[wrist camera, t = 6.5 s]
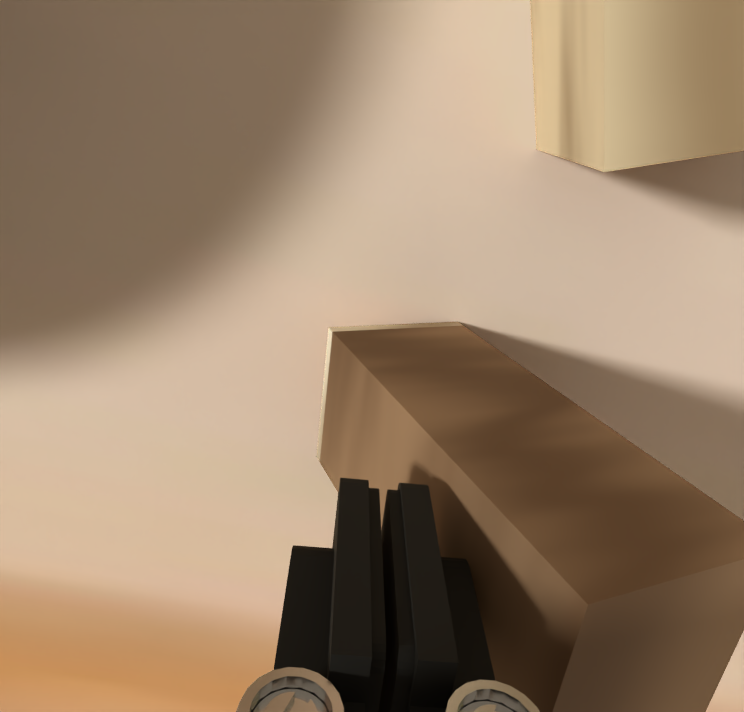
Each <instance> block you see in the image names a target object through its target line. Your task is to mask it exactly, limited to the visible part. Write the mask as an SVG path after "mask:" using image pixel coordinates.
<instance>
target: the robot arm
mask: <svg viewBox="0 0 744 712" xmlns="http://www.w3.org/2000/svg"><path fill="white" fill-rule="evenodd" d="M236 712H540V711H539V710H538V708H537V706H536V705H535V704H534V703H533V702H532V701H531V700H530V699H529V698H527V697H526V696H525V695H524V694H523V693H521V692H520V691H518V690H516V689H515V688H513V687H512V686H509V685H507V684H504V683H501V682H498V681H496V680H495V676H494V672H493V667H492V663H491V658H490V654H489V650H488V645H487V641H486V636H485V632H484V628H483V623H482V619H481V615H480V610H479V606H478V601H477V597H476V593H475V588H474V584H473V579H472V575H471V571H470V567H469V564H468V561H467V560H466V559H462V558H449V557H441V555H440V549H439V544H438V538H437V532H436V526H435V520H434V514H433V508H432V502H431V497H430V491H429V486H428V485H423V484H411V483H399V485H398V489H397V490H390V489H388V490H387V494H386V501H385V508H384V515H383V522H382V529H381V514H380V492H379V489H378V488H369V480H363V479H351V478H340V483H339V492H338V501H337V511H336V520H335V529H334V539H333V548H319V547H306V546H293V547H292V553H291V559H290V566H289V573H288V579H287V586H286V592H285V599H284V606H283V612H282V619H281V625H280V632H279V639H278V645H277V652H276V658H275V665H274V670H272V671H271V672H269V673H267V674H265V675H263V676H261V677H259V678H258V679H257V680H256V681H255V682H254V683H253V684H251V685H250V686H249V687H248V688H247V690H246V692H245V694H244V695H243V697H242V699H241V701H240V703H239V705H238V708H237V711H236Z"/></svg>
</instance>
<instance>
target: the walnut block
mask: <svg viewBox="0 0 744 712" xmlns="http://www.w3.org/2000/svg"><path fill="white" fill-rule="evenodd" d="M316 457H317V458H318V460H319V462H320V463H321V465H322V467H323V468H324V470H325V471H326V473H327V475H328V476H329V478H330V480H331V481H332V483H333V485H334V486H335V488H336V490H337V491H338V492H339V483H340V478H351V479H363V480H369V488H378V489H379V492H380V514H381V529H382V522H383V515H384V508H385V501H386V494H387V490H388V489H390V490H397V489H398V485H399V483H411V484H423V485H428V486H429V491H430V497H431V502H432V508H433V514H434V520H435V526H436V532H437V538H438V544H439V549H440V555H441V557H449V558H462V559H466V560H467V561H468V564H469V567H470V571H471V575H472V579H473V584H474V588H475V593H476V597H477V601H478V606H479V610H480V615H481V619H482V623H483V628H484V632H485V636H486V641H487V645H488V650H489V654H490V658H491V663H492V667H493V672H494V676H495V680H496V681H498V682H501V683H504V684H507V685H509V686H512V687H513V688H515V689H516V690H518V691H520V692H521V693H523V694H524V695H525V696H526V697H527V698H529V699H530V700H531V701H532V702H533V703H534V704H535V705H536V706H537V708H538V710H539V711H540V712H705V711H706V709H707V707H708V705H709V703H710V701H711V699H712V696H713V694H714V692H715V690H716V688H717V686H718V684H719V682H720V679H721V677H722V675H723V673H724V671H725V669H726V667H727V665H728V662H729V660H730V658H731V656H732V654H733V652H734V650H735V648H736V645H737V643H738V641H739V639H740V637H741V635H742V633H743V631H744V521H743V520H742V519H740V518H739V517H737V516H736V515H735V514H733V513H732V512H730V511H729V510H727V509H726V508H725V507H723V506H722V505H720V504H719V503H717V502H716V501H714V500H713V499H712V498H710V497H709V496H707V495H706V494H704V493H703V492H702V491H700V490H699V489H697V488H696V487H694V486H693V485H691V484H690V483H689V482H687V481H686V480H684V479H683V478H681V477H680V476H679V475H677V474H676V473H674V472H673V471H671V470H670V469H669V468H667V467H666V466H664V465H663V464H661V463H660V462H658V461H657V460H656V459H654V458H653V457H651V456H650V455H648V454H647V453H646V452H644V451H643V450H641V449H640V448H638V447H637V446H635V445H634V444H633V443H631V442H630V441H628V440H627V439H625V438H624V437H623V436H621V435H620V434H618V433H617V432H615V431H614V430H613V429H611V428H610V427H608V426H607V425H605V424H604V423H602V422H601V421H600V420H598V419H597V418H595V417H594V416H592V415H591V414H590V413H588V412H587V411H585V410H584V409H582V408H581V407H579V406H578V405H577V404H575V403H574V402H572V401H571V400H569V399H568V398H567V397H565V396H564V395H562V394H561V393H559V392H558V391H556V390H555V389H554V388H552V387H551V386H549V385H548V384H546V383H545V382H544V381H542V380H541V379H539V378H538V377H536V376H535V375H534V374H532V373H531V372H529V371H528V370H526V369H525V368H523V367H522V366H521V365H519V364H518V363H516V362H515V361H513V360H512V359H511V358H509V357H508V356H506V355H505V354H503V353H502V352H500V351H499V350H498V349H496V348H495V347H493V346H492V345H490V344H489V343H488V342H486V341H485V340H483V339H482V338H480V337H479V336H478V335H476V334H475V333H473V332H472V331H470V330H469V329H467V328H466V327H465V326H463V325H462V324H460V323H459V322H441V323H418V324H395V325H372V326H350V327H329V328H328V338H327V349H326V359H325V370H324V381H323V391H322V402H321V412H320V423H319V433H318V444H317V454H316Z"/></svg>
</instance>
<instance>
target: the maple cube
mask: <svg viewBox="0 0 744 712" xmlns="http://www.w3.org/2000/svg"><path fill="white" fill-rule="evenodd" d="M530 5H531V30H532V54H533V78H534V103H535V127H536V150H539V151H542V152H545V153H548V154H551V155H554V156H557V157H560V158H563V159H566V160H569V161H572V162H575V163H578V164H581V165H584V166H587V167H590V168H593V169H596V170H599V171H602V172H609V171H615V170H622V169H628V168H635V167H641V166H648V165H655V164H661V163H668V162H674V161H681V160H687V159H694V158H700V157H707V156H714V155H720V154H727V153H733V152H740V151H744V0H530Z"/></svg>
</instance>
